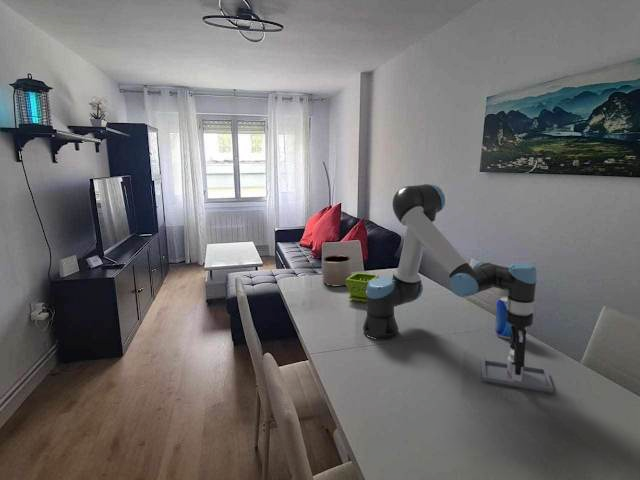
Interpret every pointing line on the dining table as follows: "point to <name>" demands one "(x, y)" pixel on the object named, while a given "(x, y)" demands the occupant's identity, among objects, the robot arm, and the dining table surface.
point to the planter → (336, 269)
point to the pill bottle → (509, 365)
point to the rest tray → (531, 381)
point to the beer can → (502, 319)
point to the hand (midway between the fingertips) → (514, 374)
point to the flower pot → (359, 286)
